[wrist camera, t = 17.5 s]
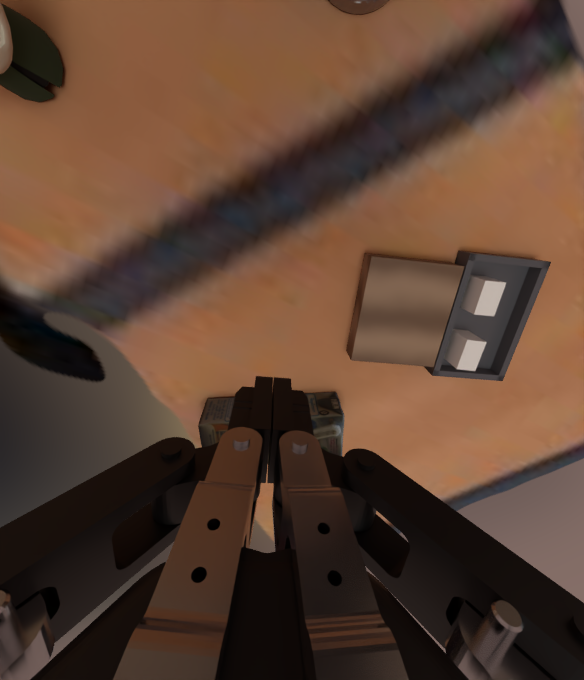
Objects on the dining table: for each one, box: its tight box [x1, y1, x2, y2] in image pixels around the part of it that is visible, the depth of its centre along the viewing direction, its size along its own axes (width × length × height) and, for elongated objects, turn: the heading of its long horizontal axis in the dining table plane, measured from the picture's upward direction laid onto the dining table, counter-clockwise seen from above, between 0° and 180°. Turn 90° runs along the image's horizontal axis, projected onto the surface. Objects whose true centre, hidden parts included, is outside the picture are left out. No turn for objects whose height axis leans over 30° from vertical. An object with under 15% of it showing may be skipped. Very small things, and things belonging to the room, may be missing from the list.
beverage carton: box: [198, 392, 344, 457], centre depth 43 cm, size 8×19×7 cm, turn 92°
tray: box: [424, 251, 551, 381], centre depth 40 cm, size 16×10×2 cm, turn 174°
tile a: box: [460, 275, 506, 316], centre depth 38 cm, size 4×4×2 cm
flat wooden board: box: [346, 253, 465, 367], centre depth 39 cm, size 13×11×3 cm
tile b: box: [444, 329, 487, 371], centre depth 40 cm, size 4×4×2 cm
